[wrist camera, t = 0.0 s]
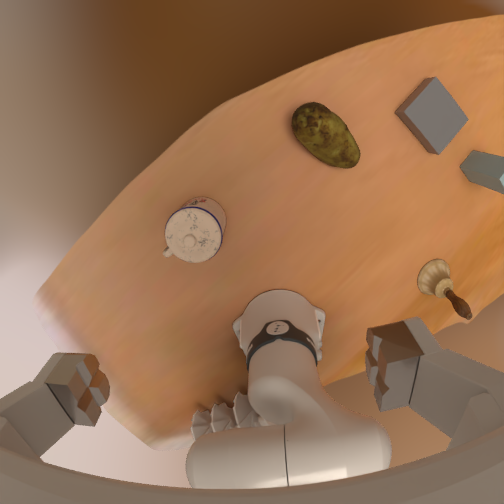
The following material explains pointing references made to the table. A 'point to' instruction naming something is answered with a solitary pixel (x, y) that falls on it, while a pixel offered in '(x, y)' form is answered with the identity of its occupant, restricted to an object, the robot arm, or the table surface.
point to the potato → (325, 135)
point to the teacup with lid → (195, 230)
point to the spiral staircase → (227, 417)
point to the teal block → (485, 170)
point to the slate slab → (432, 115)
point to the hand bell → (441, 285)
